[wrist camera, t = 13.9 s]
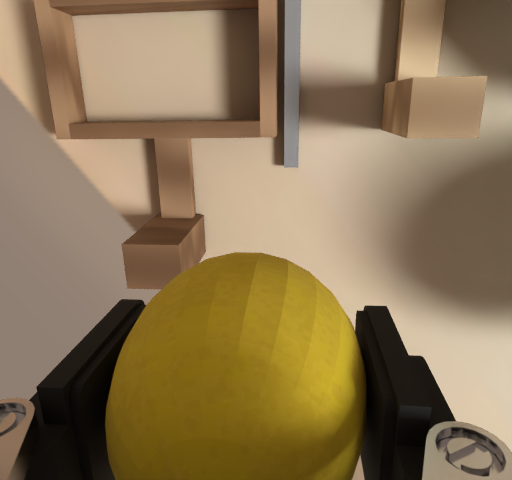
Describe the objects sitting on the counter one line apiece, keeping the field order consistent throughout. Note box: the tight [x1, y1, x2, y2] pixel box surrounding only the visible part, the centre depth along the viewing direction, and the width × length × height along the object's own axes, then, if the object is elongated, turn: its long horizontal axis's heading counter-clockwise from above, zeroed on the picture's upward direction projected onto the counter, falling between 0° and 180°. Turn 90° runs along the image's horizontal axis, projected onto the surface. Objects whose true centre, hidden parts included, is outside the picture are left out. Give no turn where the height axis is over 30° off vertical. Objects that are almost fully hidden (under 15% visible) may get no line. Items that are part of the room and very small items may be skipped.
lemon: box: [105, 253, 367, 480], centre depth 9 cm, size 6×6×8 cm
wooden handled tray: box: [34, 0, 277, 289], centre depth 26 cm, size 18×15×7 cm
